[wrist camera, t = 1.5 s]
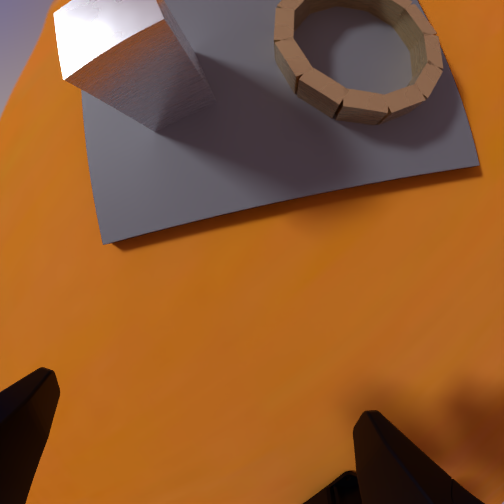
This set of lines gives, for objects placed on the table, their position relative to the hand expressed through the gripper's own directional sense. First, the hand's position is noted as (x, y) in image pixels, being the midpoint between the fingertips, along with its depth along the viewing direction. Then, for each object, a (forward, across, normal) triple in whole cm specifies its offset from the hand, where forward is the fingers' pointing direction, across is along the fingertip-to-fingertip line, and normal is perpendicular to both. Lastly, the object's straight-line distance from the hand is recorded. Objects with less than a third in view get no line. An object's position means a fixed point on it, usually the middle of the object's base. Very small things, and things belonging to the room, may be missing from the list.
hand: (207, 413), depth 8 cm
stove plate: (+14, -1, -11) cm, 18 cm away
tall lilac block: (+14, +4, -9) cm, 17 cm away
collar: (+14, -6, -13) cm, 20 cm away
